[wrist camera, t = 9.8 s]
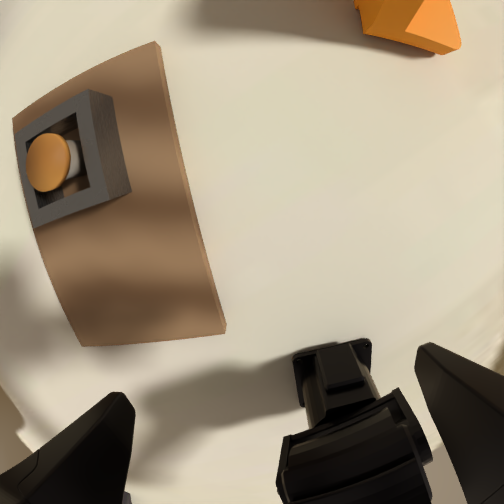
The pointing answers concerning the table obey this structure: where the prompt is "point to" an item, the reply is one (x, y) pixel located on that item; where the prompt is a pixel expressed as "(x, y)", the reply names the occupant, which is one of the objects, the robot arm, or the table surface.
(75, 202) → the grey square frame
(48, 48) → the table surface
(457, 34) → the bracket
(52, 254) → the board
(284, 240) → the table surface
